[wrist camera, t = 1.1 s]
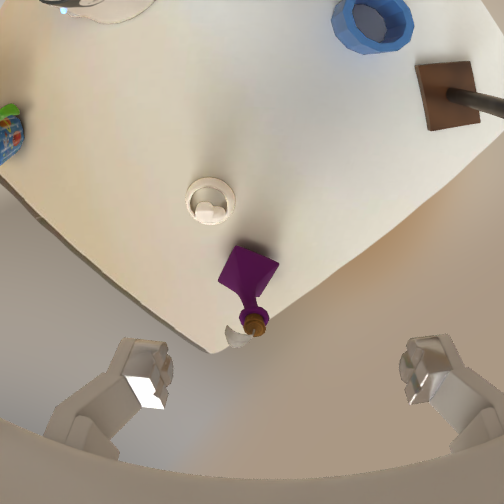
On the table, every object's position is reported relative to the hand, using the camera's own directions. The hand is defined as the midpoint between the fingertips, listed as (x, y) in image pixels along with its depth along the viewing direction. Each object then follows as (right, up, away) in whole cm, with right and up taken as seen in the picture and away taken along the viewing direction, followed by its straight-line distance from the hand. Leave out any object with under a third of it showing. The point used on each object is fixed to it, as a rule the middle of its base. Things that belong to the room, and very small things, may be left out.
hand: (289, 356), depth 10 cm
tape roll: (+14, +34, +22) cm, 43 cm away
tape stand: (+28, +27, +26) cm, 46 cm away
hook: (-8, +11, +37) cm, 40 cm away
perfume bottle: (-2, +2, +43) cm, 43 cm away
